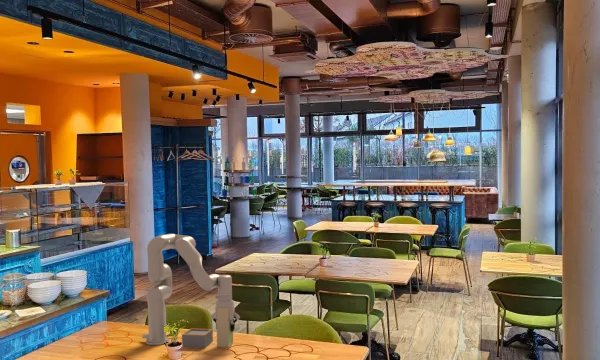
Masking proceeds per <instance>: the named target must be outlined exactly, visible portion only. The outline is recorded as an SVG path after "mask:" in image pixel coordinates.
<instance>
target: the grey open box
mask: <svg viewBox="0 0 600 360" xmlns="http://www.w3.org/2000/svg"><path fill="white" fill-rule="evenodd" d="M213 332H214V331H213V329H210V328H189V329H188V330H186V331H185V332H183V333H182V334H181V345H182V344H183V347H182V348H194V349H195V348H196V349H198V348H199V349H206V348H207V347H209V345H211V343H213V342H214V339H213V338H214V333H213Z"/></svg>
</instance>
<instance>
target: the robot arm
mask: <svg viewBox="0 0 600 360" xmlns="http://www.w3.org/2000/svg"><path fill="white" fill-rule="evenodd" d="M148 242H149V243H147V248H146V253H147V272H148V273H147V276H148V277H147V278H148V280H149V281H150V282H151V283H154V284H155V285H153V286H150V287H149V288H148V290H147V291H146V303H147V314H148V316H147V317H148V319H147V321H148V323H147V324H148V329H147V330H148V333H143V334H142V336H141V337H142V339H146V340H145V344H146V345H149V346H160V345H165V344H167V343H166V342H168V341H169V342H170V339H169V338H168V337H167V331H166V332H164V326H165V325H166V326H167V310H166V309H167V306H166V303H165V300H167V299H169V298H170V297H171V295H172V294H173V272H172V269H171V266H170V265H168V264H167V263H164V255H163V251H166V250H170V249H174V250H176V252H178V253H179V256H181V258H182V259H183V260H184V261H185V262H186V264H187V265H188V267H189V271H190V273H191V275H192V277H193V279H194V281H195V282H196V283H197V284H198V286H199V287H200V288H201V289H202V290H204V291H208V292H209V291H211V290H213V289H216V288H217V295H216V296H215V299H217V300H216V302H215V311H214V312H213V313H212V314H211V315H210V318H211V319H212V321H213V322H214V323H215V326H216V327H215V329H216V330H217V308H229V320H230V321H231V323H232V324H231V332H233V333H234V330H235V327H236V325H235V324H236V323H237V322H238V320H239V319H240V318H241V316H240V315H239V314H238V313H237V312H236V311H235V304H234V303H235V302H234V300H233V288H232V287H233V281H232V280H233V279H232V276H231V275H230V274H216V273H211V274H208V273H207V272H206V271H205V269H204V267H203V263H202V262H203V257H202V255H201V253H200V252H199V251H198V250H197V248H196V246H197V243H196V240H195V238H194V237H192V236H190V235H181V234H176V233H167V234H160V235H157V236H155V237H153V238H152V239H151V240H149V241H148ZM169 342H168V343H169ZM164 343H165V344H164Z"/></svg>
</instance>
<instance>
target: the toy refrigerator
mask: <svg viewBox="0 0 600 360" xmlns="http://www.w3.org/2000/svg"><path fill="white" fill-rule="evenodd" d="M231 324H232V323H231V321H230V320H229V308H217V329H216V347H218V348H230V347H231V346H232V345H233V344H234V331H233V332H231Z"/></svg>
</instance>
